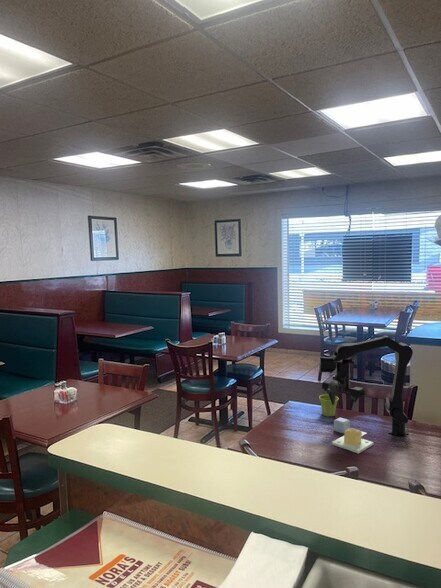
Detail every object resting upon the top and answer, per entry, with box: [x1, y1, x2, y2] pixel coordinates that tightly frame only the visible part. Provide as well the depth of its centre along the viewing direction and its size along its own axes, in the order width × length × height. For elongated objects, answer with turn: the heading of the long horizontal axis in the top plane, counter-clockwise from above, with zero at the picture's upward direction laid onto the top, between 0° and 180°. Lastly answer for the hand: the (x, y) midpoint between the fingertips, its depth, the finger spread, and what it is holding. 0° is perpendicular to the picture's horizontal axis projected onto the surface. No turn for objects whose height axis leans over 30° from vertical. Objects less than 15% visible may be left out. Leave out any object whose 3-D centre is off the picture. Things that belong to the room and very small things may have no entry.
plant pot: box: [318, 394, 340, 418], centre depth 214 cm, size 9×9×9 cm
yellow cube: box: [343, 427, 363, 446], centre depth 180 cm, size 5×5×5 cm
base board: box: [331, 435, 374, 455], centre depth 180 cm, size 12×12×1 cm
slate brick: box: [333, 417, 351, 434], centre depth 194 cm, size 5×5×5 cm
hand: (342, 407), depth 194 cm, fingers open, 9 cm apart
